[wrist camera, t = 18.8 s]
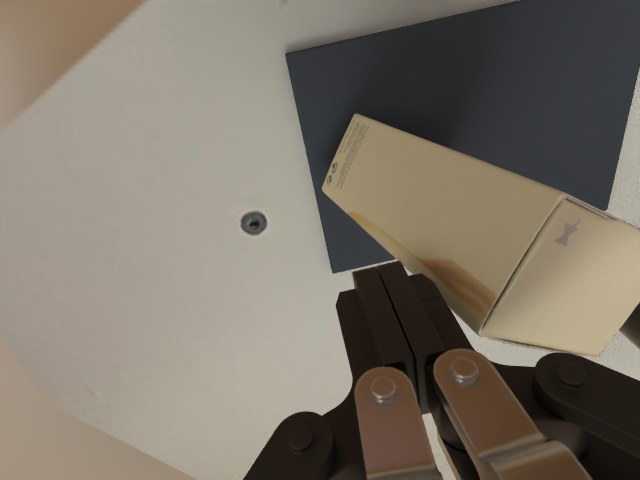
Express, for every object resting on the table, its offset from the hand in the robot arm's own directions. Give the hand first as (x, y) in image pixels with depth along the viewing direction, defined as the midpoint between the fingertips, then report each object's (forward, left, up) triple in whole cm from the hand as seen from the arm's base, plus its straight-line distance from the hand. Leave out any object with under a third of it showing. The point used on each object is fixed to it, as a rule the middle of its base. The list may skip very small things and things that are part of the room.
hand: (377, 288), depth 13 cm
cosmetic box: (+3, -1, -10) cm, 11 cm away
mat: (+8, -1, -12) cm, 14 cm away
